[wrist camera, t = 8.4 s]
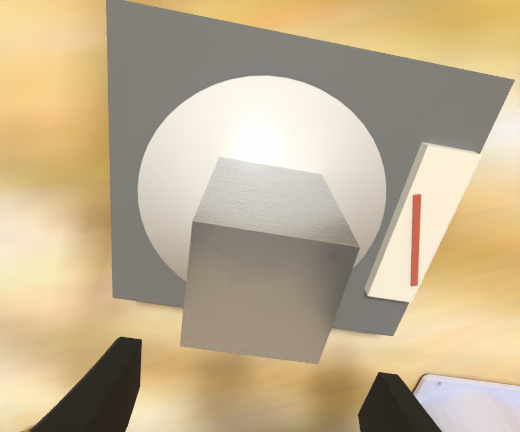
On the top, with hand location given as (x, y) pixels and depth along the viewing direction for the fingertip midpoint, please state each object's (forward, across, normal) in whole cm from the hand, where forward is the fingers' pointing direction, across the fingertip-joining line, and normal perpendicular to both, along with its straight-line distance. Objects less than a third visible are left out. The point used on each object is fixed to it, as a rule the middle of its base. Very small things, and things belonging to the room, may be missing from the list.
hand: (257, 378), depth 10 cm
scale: (+10, -1, -3) cm, 10 cm away
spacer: (+6, 0, -2) cm, 7 cm away
